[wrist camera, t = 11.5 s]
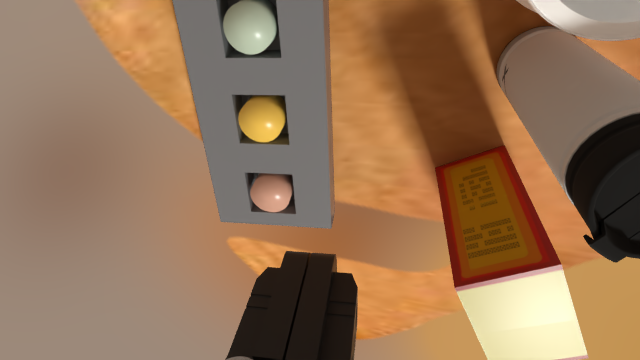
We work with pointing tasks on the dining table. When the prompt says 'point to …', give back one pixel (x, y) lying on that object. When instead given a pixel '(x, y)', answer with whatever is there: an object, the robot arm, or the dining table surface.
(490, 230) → the baking soda box
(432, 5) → the dining table surface
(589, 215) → the travel mug
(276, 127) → the amber button
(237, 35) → the sage button
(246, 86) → the button console
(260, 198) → the terracotta button
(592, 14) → the jar
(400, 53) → the dining table surface
